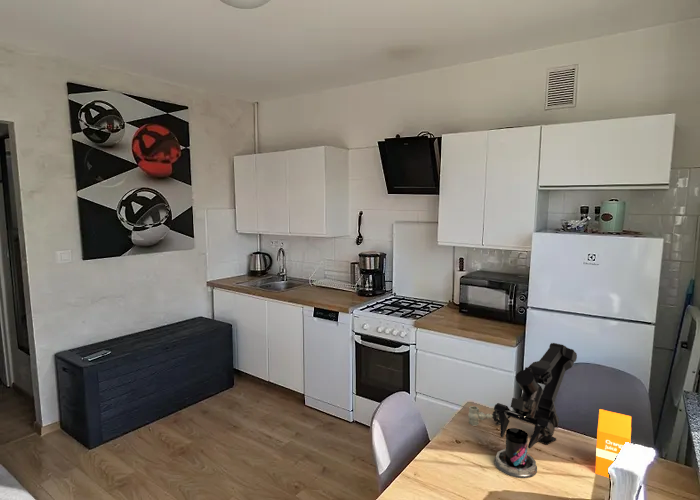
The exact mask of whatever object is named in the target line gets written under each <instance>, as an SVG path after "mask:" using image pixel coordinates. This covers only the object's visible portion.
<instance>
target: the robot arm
mask: <svg viewBox="0 0 700 500" xmlns="http://www.w3.org/2000/svg"><path fill="white" fill-rule="evenodd" d="M577 355H578V354H577V352H576V351H575V350H574V349H572V348H569V347H567V346H566V345H564V344H562V343H555V342H550V344H549V348H548V349H547V350H546V351H545V353H544V354H543V355H542V357H541V358H540V359H539V360H537V361H534V362H532V363H530V364H529V366H527V367H525V368H524V369H523V370H520V371H518V373H516V375H515V380H516V383H517V385H518V386H519V387H520V389H521V391H522V394H521V395H519V396H518V398H514V397H512V398H511V402H510V407H509V406H508V405H506V404H503V403H499V402H498V403H496V404H495V405H494V407H493V410H494V411H495V412H496V413H497V415H498V416H499V417H500V424H501V425H500V426H499V427H500V436H499V437H500V438H503V437H504V436H505V435H506V430H507V428H508V427H509V424H510V420H509V419H510V418H514V419H516V420H519V421H522V422H525V423H528V424H531V425H533V426H534V429H533V432H532V435H530V439H529V443H528V444H527V449H531V448H532V447H533V446H535V445H536V443H537V442H539V443H541V444H543V445H546V446H547V445H549V444H552V443H553V442H556V441H557V438H556V437H554V435H555V434H554V433H555V429H556V428H557V429H558V428H559V422H560V418H559V416H558V414H557V410H556V406H555V402H556V399H557V396H558V394H559V393H558V392H559V390H560V387H561V385H562V382H563V379H564V376H565V373H566V372H567V371H568V370H570V369H572V368H573V365H574V363H576V361H577V358H578V356H577ZM540 384H541V385H540ZM542 385H543V386H544V387H543V388H542ZM510 408H512V409H513V410H511V409H510ZM494 411H493V412H494Z"/></svg>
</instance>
